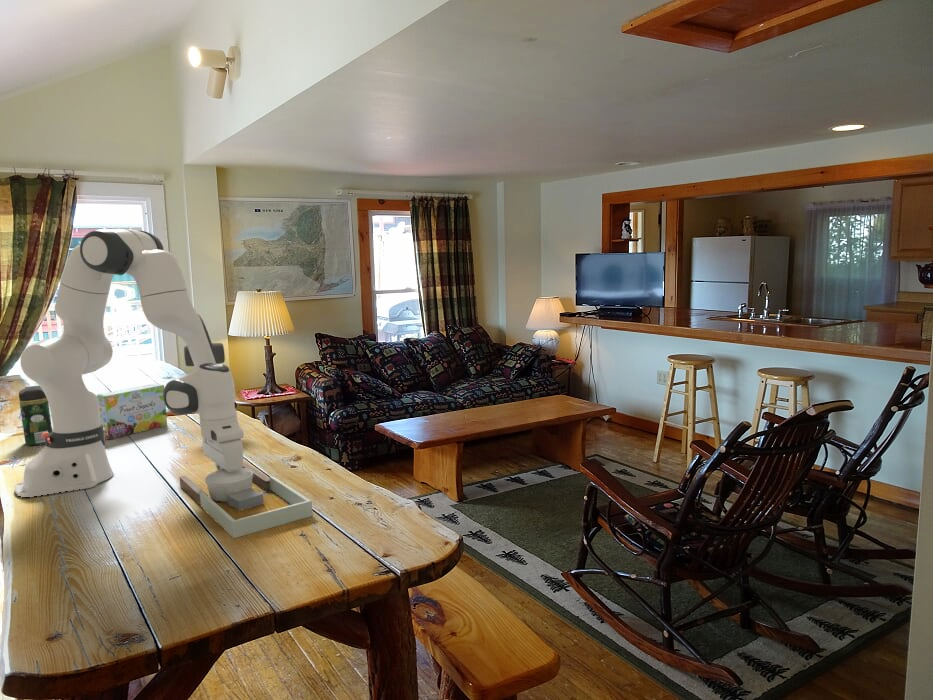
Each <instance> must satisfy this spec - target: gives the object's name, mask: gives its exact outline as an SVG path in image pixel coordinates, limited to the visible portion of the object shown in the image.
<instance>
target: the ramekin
mask: <svg viewBox="0 0 933 700" xmlns="http://www.w3.org/2000/svg"><path fill="white" fill-rule="evenodd" d="M252 478H253V471H252V470H250V469H247V468H242V469H241V470H237V471H233V472H227V471H226V470H225V469H223V470H219V471H217V470H216V471H212V472H210V473H209V474H207V475H206V476H205V478H204V480H205V484H206V486H207V490H208V494H209V495H208V496H209V498H210V499H212V500H213V501H214V502H218V501H221V502H220V503H228V501H227V495H229V494H233V493H236V492H240V491H243V490H247V489H250V488H251V489H253V481H252Z"/></svg>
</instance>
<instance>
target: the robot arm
mask: <svg viewBox="0 0 933 700" xmlns="http://www.w3.org/2000/svg"><path fill="white" fill-rule="evenodd" d="M125 274H126V275H129V276H131V278H133V279H134V281H135V283H136V286H137V291H138V295H139V298H140V299H139V300H140V304H141V308H142V312H143V314H144V316H145V318H146V320H147V321H148V322H149V323H150V324H151V325H153V326H154V327H156V328H158V329H160V330H163V331H167V332H169V333H173V334H174V335H176V336H178V337H179V338H181V339H182V340H183V342H184V343H185V344H186V345H185V346H187V347H188V350H189V352H190V355H191V358H192V361H193V363H194V366H193V367H194V370H192V371H191V372H189V373H187V374H184V375H182V376H179V377H177V378H174V379H172V380H170V381H168V382H167V383H166V384H165V385H164V392H163V399H164V403H165V405H166V409H167V410H169V411H170V412H171V413H172V414H174V415H176V416H187V415H190V414H195V413H196V414H198V415H199V423H200V424H199V425H200V435H201V437H202V451H203V454H204V456H205V457H206V458H208V459H209V460H211V461H212V462H213V463H215V467H216V471H219V470H223V469H225V470H226V471H227V472H233V471H237V470H241V469H242V466H243V463H244V450H243V442H242V439H244V437H245V435H244V430H243V428H242V427H241V425H240V422H239V420H238V414H237V413H238V412H237V409H236V407H235V401H236V388H235V380H234V377H233V373H232V371H231V369H230V367H229V366H227V365H225V364H223V363H220V364H219V362H218V359H217V357H216V354H215V351H214V348H213V345H212V343H213V342H212V340H211V337H210V335H209V332H208V330H207V327H206V324H205V322H204V320H203V318H202V317H201V315H200V314H199V313H198V312H197V311H196V310H195V308H194V306H193V304H192V300H191V298H190V295H189V292H188V288H187V283H186V281H185V278H184V275H183V272H182V270H181V267H180V264H179V262H178V260H177V257H175V255H174V254H173V253H171V252H170V251H167V250H164V246H163V243H162V242H161V240H160V239H159V238H158V236H156V235H154V234H152V233H151V232H148V231H145V230H136V229H130V228H117V229H116V228H114V229H107V228H99V229H95V230H92V231H90V232H88V233H87V234H85V235H84V236H83V237H82V239H81V241H80V244H78V245H76V246H74V247H73V248H72V250H71V252H70V253H69V255H68V258H67V259H66V263H65V265H64V268H63V270H62V275H61V277H60V281H59V286H58V291H57V294H56V295H57V296H56V300H55V304H54V312H55V314H56V316H57V317H58V318H60V319H61V321H62V325H63V331H62V334H61V336H57V337H56V336H55V337H51V338H45V339H42V340H39V341H37V342H35V343H32V344H31V345H29V346H27V347H25V349H24V350H23V351H22V353H21V355H20V368H21V370H22V372H23V373H24V375H25V376H26V377H27V378H28V379H29V380H31V381H32V382H34V383H36V384H37V386H40V387H41V388H42V390H43V392H44V393H45V395H46V397H47V400H48V403H49V410H50V418H51V425H52V432H51V433H49V432H43V434H42V436H41V437H42V439H43V440H45V448H43V449H42V450H41V451H40V452H39V453H38V454H37V455H36V456H34V457H33V458H31V460H29V461H28V462H27V463H26V466H25V468H24V471H23V480H21V481H20V482H18V483H17V484H16V485H15V486H14V494H15V493H16V494H17V495H19V496H21V497H20V498H22V497H30V498H35V497H34V496H37V497H40V496H41V495H43V496H48V495H47V494H49V495H54V493H55V494H60V493H59V492H61V493H66V492H65V491H68V492H71V491H72V492H73V490H74V491H78V490H79V489H80V490H85V489H90V488H91V489H92V488H93V487H94V488H95V486H97V485H98V484H100V483H103V482H104V481H107V480H108V479H110V478H112V477H113V476H114V471H113V469H112V466H111V464H110V461H109V459H108V456H107V451H106V448H105V445H106V439H105V433H104V428H103V425H102V424H101V419H100V410H99V401H98V398H97V394H96V393H94V392H92V391H89V389H88V388H87V387H86V385H85V383H84V380H83V375H86V374H90V373H93V372H96V371H98V370H100V369H101V368H104V366H106V365H108V364H109V362H110V361H111V360H112V358H113V347H112V344H111V341H110V340H109V339H108V338H107V337H106V335H105V328H104V318H105V313H106V306H107V302H108V297H109V294H110V293H109V292H110V290H111V286H112V284H111V283H112V280H113V278H114V276H115V275H117V276H123V275H125ZM16 494H15V495H16ZM17 495H16V496H17Z"/></svg>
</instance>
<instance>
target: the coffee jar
mask: <svg viewBox="0 0 933 700" xmlns="http://www.w3.org/2000/svg"><path fill="white" fill-rule="evenodd" d="M18 399H19V409H20V416H21V422H22V428H23V436H24V437H23V438H24V442H25V444H26V445H27V446H41V445H40V444H42V445H44V444H45V445H46V443H45V440H43V439H42V437H41V436H42V434H43V432H49V433H51V432H52V431H53V424H52V417H51V411H50V406H49V402H48V400H47V397H46V395H45V393H44V392H43V390H42V388H41V387H40V386H39V385H33V386H31V385H30V386H25V387H24V388H22V389H21V390H19V392H18Z"/></svg>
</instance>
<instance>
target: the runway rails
mask: <svg viewBox="0 0 933 700" xmlns="http://www.w3.org/2000/svg"><path fill="white" fill-rule="evenodd" d="M242 468H247V469H250V470H252V471H253V478H252V483H254V482H255V483H254V484H256V485H257V484H258V485H257V486H259V487H260V486H261V487H262V488H261V487H260V488H261V489H263V488H264V489H265V490H264V489H263V490H264V491H266V492H268V491H267V490H269V491H271V490H270V478H269V477H268V476H266V475H264V474H263V473H261V472H260V471H259V470H257V469H255V468H254V467H252V466H251V465H249V464H248V463H246V462H243V466H242ZM179 485H180V486H179V487H181V488H182V489H183V490H184V489H185V490H186V491H187V492H188V493H189V494H190V495H191V496H192V497H193V498H194V499H195V502H196V503H198V502H199V503H200V504H201V501H200V493H202V492H204V493H205V494H206V495H207V496H208V497H209V495H208V494H207V493H206V492H205V491H204V490H203V489H202V488H200V487H199V486H198V485H197V484H196V483H195V482H194V481H193V480H192V479H190V478H189V477H188V476H187V475H183V476H182V475H181V476H179ZM185 490H184V491H185ZM186 491H185V492H186ZM187 492H186V493H187ZM188 493H187V494H188ZM189 494H188V495H189ZM190 495H189V496H190ZM191 496H190V497H191ZM192 497H191V498H192ZM193 498H192V499H193ZM199 503H198V504H199ZM200 504H199V505H200Z"/></svg>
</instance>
